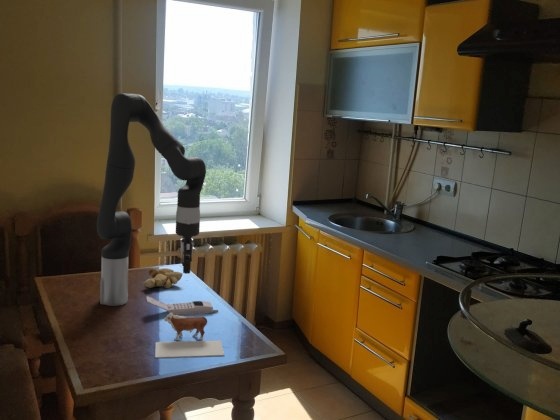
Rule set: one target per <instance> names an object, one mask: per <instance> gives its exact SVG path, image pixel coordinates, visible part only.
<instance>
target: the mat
mask: <svg viewBox="0 0 560 420" xmlns="http://www.w3.org/2000/svg"><path fill="white" fill-rule="evenodd" d="M154 351H155V354H154V356H155V357H154V358H155V359H168V358H191V357H192V358H198V357H223V356H224V357H225V352H224V348H223V343H222V340H221V339H219V340H192V341H191V340H189V341H188V340H186V341H156V342H155V350H154Z"/></svg>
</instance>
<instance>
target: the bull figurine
mask: <svg viewBox="0 0 560 420" xmlns="http://www.w3.org/2000/svg"><path fill="white" fill-rule="evenodd" d="M163 320H164V322H167V323H168V324H169V325H170V326H171V328H172V329H173V330H174V331H175V332H176V333H175V334H176V336H175V338H173V342H178V340H179V338H182V337H183V331H184V332H185V331H186V332H189V333H192V332H193V331H194V330H195V333H194V334H193V335H192V338H195V337H198V334H199V333H200V337H199V339H198V341H203V340H204V335H205V330H204V329H205V327H206V326H207V324H208V319H207V318H206V317H205V316H185V315H176V314H173V313H170V314H169V313H168V314H167V315H166V317H165V318H164V319H163Z"/></svg>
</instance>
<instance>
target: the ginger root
mask: <svg viewBox="0 0 560 420" xmlns="http://www.w3.org/2000/svg"><path fill="white" fill-rule="evenodd" d="M183 274H184V273H183V272H179V271H174V270H173V269H171V268H168V267H167V268H159V269H156V268H154V267H152V268H149V269H148V275H149V277H150V278H148V279H146V280H145V281H144V282H143V283H142V285H143V286H145V287H147V288H149V289H152V288H156V287H160V288H161V287H163V288H166V289H170V288H171V287H172V286H173V285H177V284H178V282H179V281H180V280H181V279H182V277H183Z"/></svg>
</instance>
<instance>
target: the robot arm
mask: <svg viewBox="0 0 560 420" xmlns="http://www.w3.org/2000/svg"><path fill="white" fill-rule="evenodd" d="M130 123H139V124H141V125H142V126H143V127H145V128H146V130H147V131H148V133H149V136H150V141H151V143H152V145H153V147H154V148H155V150H156V151H157V152H158V153H159V154H160V155H161V156H162V158H164V160H166V162H167V164H168V167H169V169H170V170H171V172H172V174H173V175H174V176H175V177H176V178H177V179H179V180H181V181H183V182H184V181H185V185H184V186H182V187H180V188H179V189H178V191H177V202H176V203H177V207H176V213H175V214H176V215H175V234H176V235H177V236H179V237H182V238H180V250H181V255H182V260H181V262H182V263H181V266H182V274H190V273H191V265H192V264H191V262H192V261H193V259H192V256H193V254H194V245H195V244H194V243H195V242H194V239H193V238H192V237H196V236H199V235H200V227H201V226H200V224H201V222H200V221H201V208H200V206H201V205H200V204H201V192H202V189H203V187H204V186H203V185H204V183H205V179H206V174H207V167H206V164H205V162H204V160H203V159H202V158H201V157H196V156H192V157H186V156H184V155H185V154H186V153H185V152H186V149H185V147H184V146H183V144H182V143H181V142H180V141H179V140H178V139H177V138H176V137H175V135H173V134H172V133H171V132H170V131H169V129H168V128H167V127H166V126H165V125H164V123H163V121H162V120H161V119H160V117H159V116H158V113H156V112H155V110H154V108H153V107H152V105H151V104H150V103H149V101H148V99H146V98H145V97H144V96H143V95H141V94H138V93H124V92H123V93H121V92H120V93H117V94H116V95H115V96H114V97H113V99H112V103H111V108H110V132H109V133H110V134H109V135H110V136H109V144H108V154H107V160H106V168H105V177H104V185H103V190H102V195H101V196H102V197H101V201H100V204H99V205H100V206H99V210H98V214H97V217H96V218H97V219H96V233H97V234H98V236H99V238H101V239H102V240H111V241H110V242H109V243H108V244H107V245H105V246H103V248H102V249H101V270H100V271H101V272H100V273H101V277H100V305H105V306H109V307H110V306H113V307H116V306H118V307H119V306H123V305H125V304H127V303H128V300H129V299H128V297H129V291H128V290H129V252H130V250H131V247H132V246H131V243H132V230H133V228H132V226H133V225H132V220H131V219H132V218H131V217H130V214H129V213H128V212H127V211H124V210H123V211H121V210H119V211H117V207H118V205H119V202H120V200H121V198H122V197H123V195H124V194H126V191H127V190H128V189H129V187H130V186H131V183H132V182H133V179H134V174H135V166H136V158H135V155H134V152H133V150H132V147H131V144H130V142H129V137H128V136H129V133H128V132H129V125H130Z"/></svg>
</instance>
